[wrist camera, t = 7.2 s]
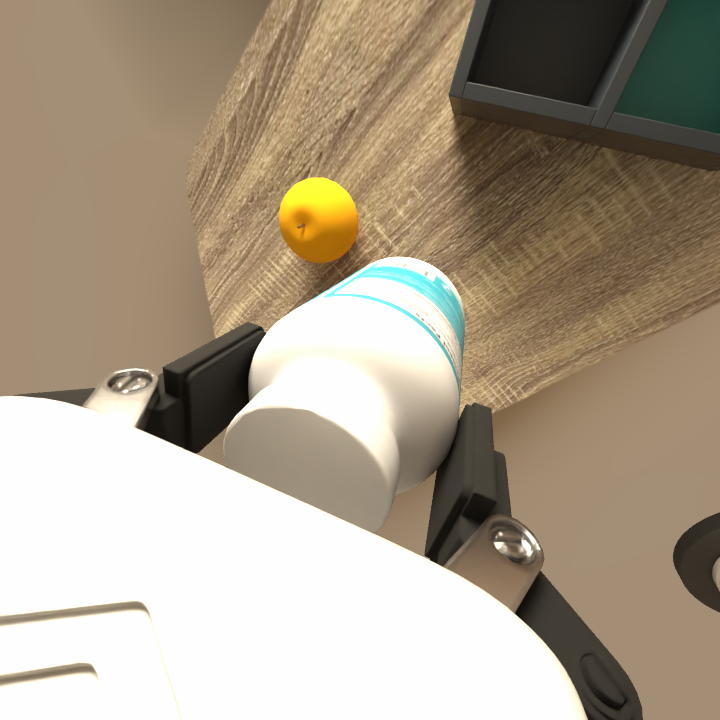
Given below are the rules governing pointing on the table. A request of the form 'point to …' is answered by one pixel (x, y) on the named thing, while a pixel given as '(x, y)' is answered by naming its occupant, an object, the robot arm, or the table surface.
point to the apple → (318, 220)
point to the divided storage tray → (598, 73)
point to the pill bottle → (355, 392)
